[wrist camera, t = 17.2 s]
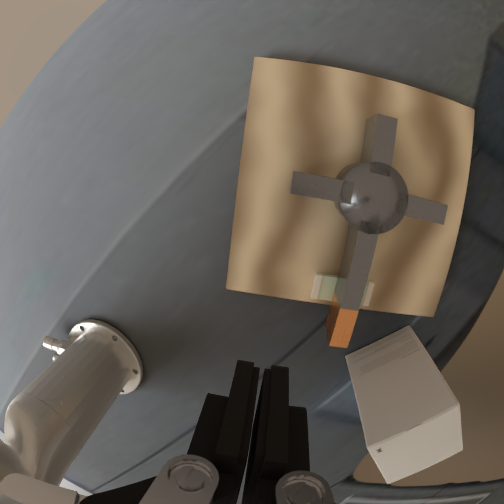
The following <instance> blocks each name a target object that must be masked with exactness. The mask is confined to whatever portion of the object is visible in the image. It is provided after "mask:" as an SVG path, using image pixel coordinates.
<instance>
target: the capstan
mask: <svg viewBox="0 0 504 504" xmlns="http://www.w3.org/2000/svg"><path fill="white" fill-rule="evenodd" d="M397 121H398V119H397V118H393V117H390V116H386V115H382V114H378V113H377V114H375V115H374V116H372V117H370V118H368V119H366V125H365V132H364V140H363V147H362V154H361V160H360V162H355V163H352V164H349V165H347V166H346V167H344V168H343V169H342V170H341V171H340V172H339V173H338V175H337V176H336V178H332V177H327V176H321V175H316V174H310V173H304V172H299V171H293V172H292V178H291V185H290V194H295V195H301V196H307V197H313V198H319V199H324V200H330V201H334V204H335V207H336V208H337V210H338V211H339V213H340V214H341V215H342V216H343V217H344V218H345V219H346V220H347V221H348V222H349V228H348V233H347V238H346V242H345V247H344V252H343V256H342V261H341V265H340V269H339V274H338V278H337V282H336V286H335V290H334V294H333V298H332V302H331V306H330V310H329V314H328V318H327V321H326V325H325V326H326V331H327V336H328V342H329V346H335V347H343V348H347V347H348V344H349V341H350V338H351V335H352V332H353V328H354V325H355V322H356V319H357V315H358V312H359V309H360V305H361V302H362V298H363V295H364V291H365V287H366V284H367V280H368V276H369V272H370V268H371V264H372V260H373V256H374V252H375V248H376V244H377V239H378V235H379V234H382V233H385V232H388V231H390V230H391V229H393V228H394V227H396V226H397V225H398V224H399V223H400V221H401V220H402V219H403V217H404V216H408V217H412V218H416V219H421V220H425V221H429V222H433V223H437V224H441V225H444V222H445V217H446V212H447V208H448V205H446V204H442V203H439V202H436V201H433V200H429V199H426V198H422V197H418V196H414V195H410V194H408V190H407V186H406V183H405V181H404V179H403V178H402V176H401V175H400V174H399V173H398V171H396V170H395V169H394V168H393V167H391V166H392V159H393V152H394V145H395V138H396V130H397Z"/></svg>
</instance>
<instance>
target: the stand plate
mask: <svg viewBox="0 0 504 504" xmlns="http://www.w3.org/2000/svg"><path fill="white" fill-rule="evenodd" d="M474 111H475V110H474V109H472V108H469V107H467V106H465V105H462V104H460V103H457V102H455V101H452V100H449V99H447V98H444V97H441V96H438V95H436V94H433V93H430V92H427V91H424V90H421V89H418V88H415V87H411V86H408V85H405V84H402V83H398V82H395V81H391V80H387V79H384V78H380V77H376V76H372V75H368V74H363V73H359V72H354V71H350V70H345V69H340V68H335V67H329V66H324V65H318V64H312V63H305V62H298V61H290V60H282V59H273V58H262V57H255V58H254V65H253V72H252V79H251V86H250V93H249V101H248V108H247V115H246V123H245V131H244V138H243V146H242V154H241V162H240V170H239V178H238V186H237V195H236V203H235V212H234V220H233V229H232V238H231V247H230V256H229V265H228V275H227V284H226V289H230V290H236V291H242V292H248V293H254V294H260V295H267V296H273V297H280V298H286V299H293V300H300V301H307V302H314V303H321V304H328V305H331V302H332V301H327V300H320V299H311V294H312V289H313V285H314V280H315V275H316V273H321V274H328V275H335V276H338V274H339V269H340V265H341V261H342V256H343V252H344V247H345V242H346V238H347V233H348V228H349V222H348V221H347V220H346V219H345V218H344V217H343V216H342V215H341V214H340V213H339V211H338V210H337V208H336V207H335V204H334V201H330V200H324V199H319V198H313V197H307V196H301V195H295V194H290V185H291V178H292V172H293V171H299V172H304V173H310V174H316V175H321V176H327V177H332V178H336V176H337V175H338V173H339V172H340V171H341V170H342V169H343V168H344V167H346V166H347V165H349V164H352V163H355V162H360V160H361V154H362V147H363V140H364V132H365V125H366V119H368V118H370V117H372V116H374V115H375V114H377V113H378V114H382V115H386V116H390V117H393V118H397V119H398V121H397V130H396V138H395V145H394V152H393V159H392V166H391V167H393V168H394V169H395V170H396V171H398V173H399V174H400V175H401V176H402V178H403V179H404V181H405V183H406V186H407V190H408V194H410V195H414V196H418V197H422V198H426V199H429V200H433V201H436V202H439V203H442V204H446V205H448V208H447V212H446V217H445V222H444V225H441V224H437V223H433V222H429V221H425V220H421V219H416V218H412V217H408V216H404V217H403V219H402V220H401V221H400V223H399V224H398V225H397V226H396V227H394V228H393V229H391V230H390V231H388V232H385V233H382V234H379V235H378V239H377V244H376V248H375V252H374V256H373V260H372V264H371V268H370V272H369V276H368V280H369V281H373V282H374V283H375V284H374V288H373V291H372V295H371V299H370V302H369V306H363V305H360V309H366V310H374V311H382V312H391V313H400V314H408V315H418V316H427V317H434V314H435V311H436V308H437V305H438V302H439V299H440V296H441V293H442V290H443V287H444V284H445V280H446V277H447V273H448V270H449V266H450V263H451V259H452V255H453V252H454V248H455V244H456V239H457V235H458V231H459V226H460V222H461V217H462V212H463V207H464V201H465V195H466V189H467V183H468V176H469V169H470V161H471V152H472V142H473V129H474Z"/></svg>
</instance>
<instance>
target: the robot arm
mask: <svg viewBox="0 0 504 504" xmlns="http://www.w3.org/2000/svg"><path fill="white" fill-rule="evenodd" d="M43 346H44V347H45V348H47V349H50V350H52V351H56V352H58V354H54V356H53V361H52V362H51V363H50V364H49V365H48V366H47V367H46V368H45V369H44V370H43V371H42V372H41V373H40V374H39V375H38V376H37V377H35V378H34V379H33V380H32V381H31V382H30V383H29V384H28V385H27V386H26V387H25V388H24V389H23V390H22V391H21V392H20V393H19V394H18V395H17V396H16V397H15V398H14V399H13V400H12V401H11V402H10V404H9V406H8V408H7V411H6V415H5V425H4V430H5V443H4V442H3V441H2V440H1V439H0V504H236V503H237V499H238V495H239V491H240V487H241V483H242V479H243V475H244V471H245V466H246V462H247V457H248V451H249V457H248V464H247V471H246V478H245V485H244V491H243V498H242V504H336V503H335V502H334V498H333V495H332V491H331V488H330V486H329V484H328V482H327V481H326V480H325V479H324V478H323V477H321V476H320V475H318V474H316V473H313V472H310V463H309V442H308V424H307V411H306V408H304V407H295V406H289V368H288V367H281V366H274V365H272V367H271V369H265V370H264V375H263V380H262V385H261V390H260V395H259V400H258V404H257V409H256V414H255V418H254V423H253V416H254V409H255V401H256V394H257V386H258V378H259V371H260V368H258V367H253V366H254V362H247V361H241V360H238V361H237V365H236V369H235V374H234V378H233V382H232V386H231V390H230V394H229V397H226V396H220V395H215V394H210V393H208V394H207V396H206V399H205V402H204V405H203V408H202V411H201V414H200V417H199V420H198V423H197V426H196V429H195V432H194V435H193V438H192V441H191V444H190V447H189V450H188V453H187V455H180V456H175V457H174V458H172V459H170V460H168V461H167V462H166V463H165V465H164V466H163V467H162V469H161V470H160V472H159V474H158V475H157V476H155V477H152V478H149V479H146V480H143V481H140V482H137V483H134V484H130V485H127V486H124V487H120V488H116V489H113V490H109V491H105V492H101V493H97V494H93V495H90V496H84V495H80V494H78V493H77V491H73V490H69V489H66V488H62V487H59V485H60V483H61V481H62V479H63V478H64V476H65V474H66V472H67V471H68V469H69V467H70V466H71V464H72V463H73V461H74V460H75V458H76V457H77V455H78V454H79V452H80V451H81V449H82V448H83V446H84V445H85V443H86V442H87V440H88V439H89V437H90V436H91V434H92V433H93V431H94V430H95V428H96V427H97V425H98V424H99V423H100V421H101V420H102V418H103V417H104V415H105V414H106V412H107V411H108V409H109V408H110V407H111V405H112V404H113V402H114V401H115V399H116V398H117V396H118V395H119V394H127V393H130V392H132V391H134V390H135V389H136V388H137V387H138V385H139V384H140V382H141V380H142V377H143V366H142V362H141V359H140V357H139V354H138V352H137V351H136V349H135V348H134V346H133V345H132V344H131V342H130V341H129V340H128V339H127V338H126V337H125V336H124V335H123V334H122V333H121V332H120V331H118V330H117V329H116V328H114V327H113V326H111V325H109V324H107V323H105V322H102V321H99V320H94V319H87V320H83V321H81V322H79V323H77V324H76V325H75V326H74V327H73V328H72V329H71V331H70V333H69V337H68V340H67V341H65V340H62V341H58V340H57V339H55V338H52V337H50V336H46V337H45V338H44V340H43ZM252 423H253V429H252ZM251 430H252V436H251ZM250 437H251V443H250ZM249 444H250V450H249Z"/></svg>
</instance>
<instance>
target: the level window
mask: <svg viewBox="0 0 504 504" xmlns="http://www.w3.org/2000/svg"><path fill="white" fill-rule="evenodd" d="M337 278H338V276H335V275H328V274H321V273H316V275H315V280H314V285H313V289H312V294H311V299H320V300H327V301H332V298H333V294H334V290H335V286H336V282H337ZM374 284H375V283H374V282H373V281H369V280H367V284H366V287H365V291H364V295H363V298H362V302H361V305H363V306H369V302H370V299H371V295H372V291H373V288H374Z"/></svg>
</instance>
